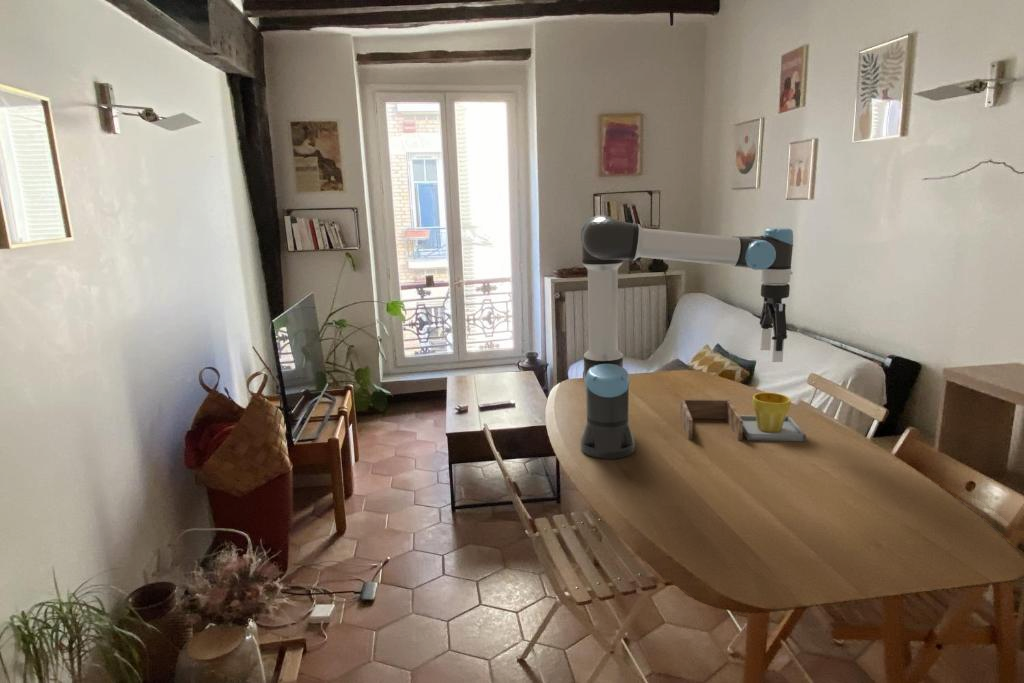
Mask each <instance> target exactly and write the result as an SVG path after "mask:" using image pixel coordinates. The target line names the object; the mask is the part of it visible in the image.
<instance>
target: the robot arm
mask: <svg viewBox="0 0 1024 683" xmlns="http://www.w3.org/2000/svg"><path fill="white" fill-rule="evenodd" d="M580 241H581V254H582V255H581V259H582V260H581V262H582V265H583V266H584V267H585V269H587V308H588V309H587V311H588V312H587V315H588V316H587V317H588V319H587V320H588V321H587V322H588V324H587V325H588V350H587V351H586V352H584V354H583V372H582V381H583V384H584V388H585V394H586V395H585V396H586V424H585V426H584V428H583V429H584V430H583V433H582V436H581V438H580V450H581V451H582V453H584V454H585V455H587V456H589V457H593V458H595V459H596V458H597V459H603V460H605V459H606V460H613V459H617V460H618V459H622V458H625V457H628V456H630V455H632V454H633V453H634V452H635V438H634V436H633V433H632V430H631V428H630V424H629V412H630V411H629V396H630V394H629V392H630V391H629V390H630V389H629V387H630V378H629V373H628V371H627V369H626V368H624V354H623V353H622V352H621V350H619V343H618V342H619V340H618V338H619V335H618V334H619V333H618V331H619V324H618V322H619V320H618V319H619V318H618V316H619V309H618V308H619V303H618V302H619V301H618V297H619V296H618V295H619V292H618V291H619V290H618V286H619V285H618V284H619V283H618V281H619V280H618V279H619V278H618V275H619V272H618V271H619V268H620V267H621V266H622V265H623V264H624V260H625V261H635V260H637V259H638V258H645V259H646V258H647V259H656V260H664V261H665V260H666V261H667V260H668V261H676V262H677V261H678V262H686V263H697V264H708V265H720V266H729V267H737V268H746V269H747V268H749V269H752V270H756V271H758V270H759V271H761V279H760V281H761V282H762V284H761V285H760V297H762V298H763V304H762V305H763V306H762V311H761V315H760V319H759V325H760V331H761V332H760V347H759V348H760V349H759V350H760V351H770V350H771V343H772V351H771V362H772V363H783V360H784V346H785V340H787V339H788V335H787V334H788V333H787V332H788V330H787V320H786V318H787V317H786V306H787V305H786V303H783V301H782V300H783V299H786V298H787V299H788V298H789V297H790V291H791V288H790V287H791V285H790V284H789V283H790V282H791V275H793V271H792V270H791V269H792V258H793V250H794V249H793V247H794V232H793V230H792V229H791V228H790V227H789V228H788V227H772V228H771V227H769V228H766V229H764V233H763V235H756V236H754V235H753V236H752V235H751V236H748V235H746V236H734V235H732V236H726V235H725V236H724V235H715V234H705V233H696V232H695V233H694V232H693V233H692V232H683V231H674V230H664V229H663V230H662V229H656V228H655V229H653V228H644V227H642V226H641V224H639V223H633V222H632V223H631V222H626V221H624V220H619V219H616V218H614V217H612V216H610V215H608V214H607V215H603V214H600V215H596V216H595V215H594V216H593V217H591V218H589V219H588V220H587V221H586V222H585V223H584V225H583V226H582V229H581V232H580ZM772 329H773V336H772Z"/></svg>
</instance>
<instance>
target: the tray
mask: <svg viewBox="0 0 1024 683" xmlns="http://www.w3.org/2000/svg"><path fill="white" fill-rule="evenodd" d="M739 415H740V417H741V418H742V420H743V432H742V434H744V436H745V438H746V439H747V441H762V442H763V441H766V442H767V441H769V442H771V441H772V442H806V433H805V432H804V431H803V430H802V429H801V427H800V426H799V425H798V424H797V423H796V422H795V421H794V419H793V418H792V417H791V416H790V415H786V417H785V420H784V423H783V426H782V429H781V431H779V432H774V433H772V432H765V431H761V430H759V429H758V427H757V421H756V415H755V414H754V415H751V414H750V415H749V414H748V415H746V414H739Z"/></svg>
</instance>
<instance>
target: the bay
mask: <svg viewBox="0 0 1024 683" xmlns="http://www.w3.org/2000/svg"><path fill="white" fill-rule="evenodd" d="M740 415H741V414H739V411H738V410H737V409H736V407H735V406H734V405H733V403H732V400H730V399H707V398H705V399H704V398H703V399H697V398H695V399H694V398H692V399H691V398H688V399H687V398H683V399H680V417H679V418H680V419H681V420H680V421H681V422H682V425H683V428H684V430H685V433H686V436H687V438H688V440H690V441H691V440H693V423H694V421H693V419H714V420H716V419H719V420H720V419H721V420H722V419H724V420H725V419H726V421H727V423H728V425H729V426H730V428H731V430H732V432H733V433H734V435H735V437H736V439H737V441H743V420H742V418H741V417H740Z"/></svg>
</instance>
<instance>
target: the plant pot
mask: <svg viewBox="0 0 1024 683" xmlns="http://www.w3.org/2000/svg"><path fill="white" fill-rule="evenodd" d="M791 402H792V401H791V398H790V397H789V396H787V395H785V394H783V393H777V392H770V391H769V392H765V391H764V392H758V393H757V392H756V393H755V394H753V396H752V402H751V403H752V404H751V406H752V409H754V415H756V421H757V427H758V429H759V430H761V431H765V432H772V433H774V432H779V431H781V429H782V426H783V423H784V420H785V417H786V416H787V413H789V412H790V411H791V410H790V408H791Z"/></svg>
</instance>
